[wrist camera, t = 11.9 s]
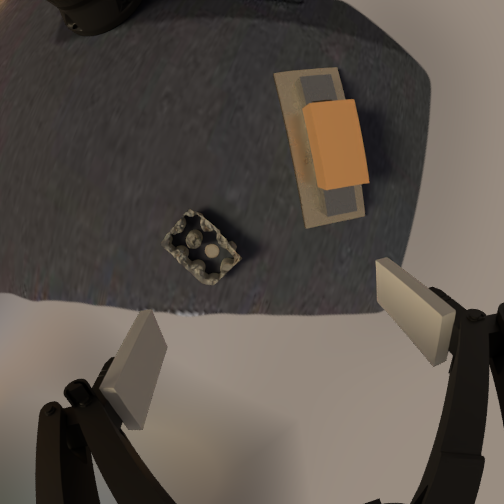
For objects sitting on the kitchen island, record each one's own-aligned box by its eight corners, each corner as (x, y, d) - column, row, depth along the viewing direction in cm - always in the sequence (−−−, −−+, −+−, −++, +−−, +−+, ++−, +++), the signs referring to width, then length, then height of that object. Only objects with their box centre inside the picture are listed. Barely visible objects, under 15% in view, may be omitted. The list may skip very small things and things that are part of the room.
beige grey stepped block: (272, 74, 37) (276, 66, 33) (335, 68, 37) (345, 60, 32) (304, 227, 44) (311, 234, 40) (363, 215, 44) (374, 220, 40)
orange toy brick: (297, 112, 38) (309, 103, 31) (336, 107, 37) (354, 99, 31) (312, 185, 41) (326, 190, 34) (349, 178, 41) (369, 182, 34)
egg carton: (245, 251, 45) (246, 259, 41) (211, 282, 47) (209, 293, 43) (195, 202, 42) (191, 206, 39) (162, 236, 44) (156, 244, 40)
